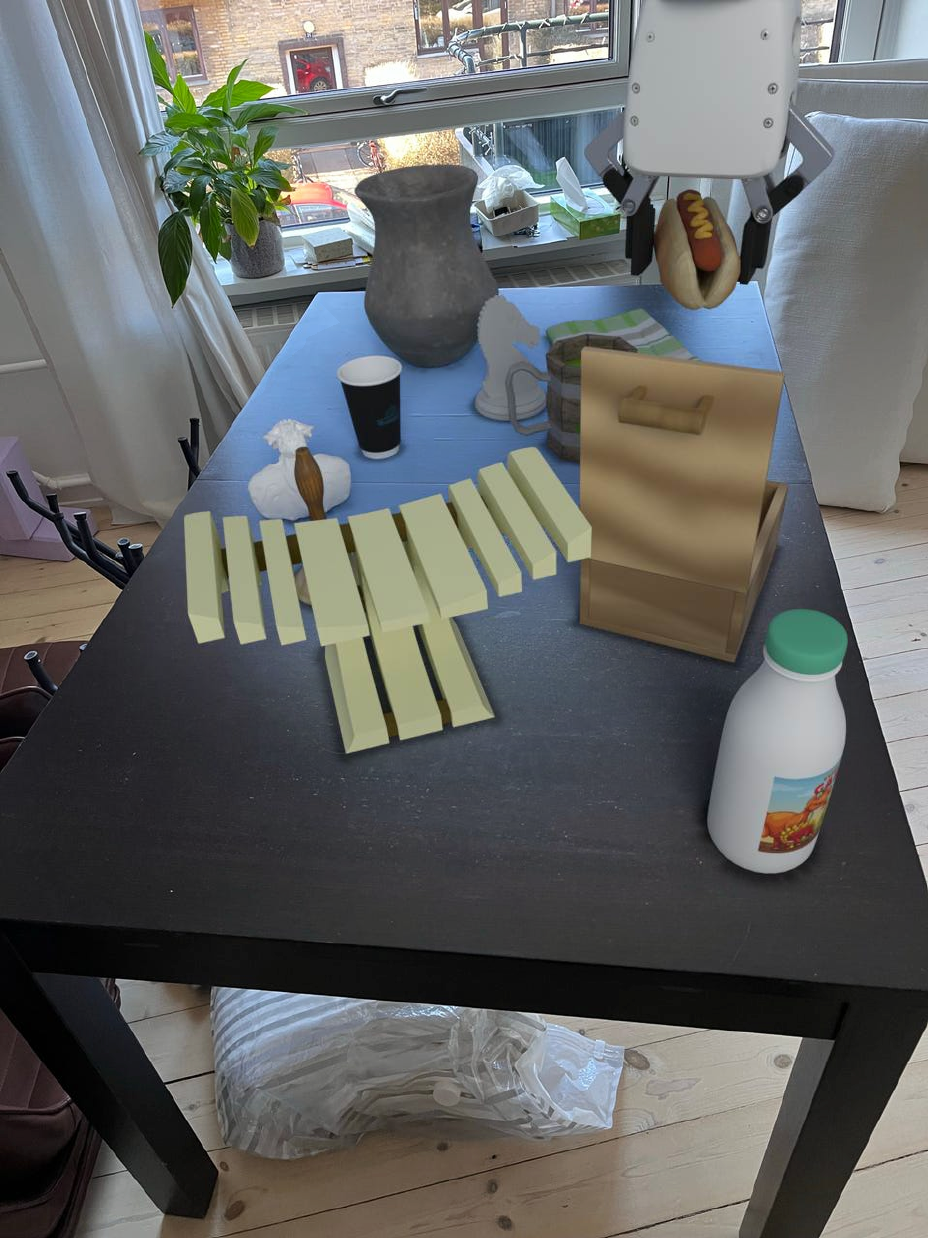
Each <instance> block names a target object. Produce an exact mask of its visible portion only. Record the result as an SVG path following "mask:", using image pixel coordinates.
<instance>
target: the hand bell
mask: <svg viewBox="0 0 928 1238" xmlns="http://www.w3.org/2000/svg"><path fill="white" fill-rule="evenodd" d="M295 453H296V458H295V466H294V475H295V481H296V485H297V488H298V491H299V493H300V495H301V497H302V499H303V500H304V502H305V503H306V505H307V508H308V511H309V516H308V517H309V521H317V520H325V519H328V518H327V515H326V513H325V511H324V507H323V495H324V485H323V478H322V474H321V470H320V468H319V465H318V464H317V462H316V460H315V459H314V457H313V454H312V452H311V450H310V449H309V447H308V446H307V447H299V448H297V449H296V451H295ZM348 558H349V561H350V565H351V568H352V571H353V575H354V578H355V582H356V585H357V586H358V585H360V584H359V579H358V573H357V568H356V562H355V557H354V554H353V553H348ZM295 578H296V583H297V594H298V599H299V602H302V603H303V604H305V605H306V606H307V605H308V606H310V607H312V603H311V599H310V594H309V590H308V585H307V580H306V576H305V571H304V567H303V566H302V567H301V569H300V570H299V571H298V572H297V573H296V574H295Z"/></svg>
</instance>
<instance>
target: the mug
mask: <svg viewBox="0 0 928 1238" xmlns="http://www.w3.org/2000/svg"><path fill="white" fill-rule="evenodd" d="M585 346H586V347H594V348H601V349H609V350H617V351H625V352H633V353H637V350H638V349H637V348H635V347H634V346H632V345H631V344H630V343H628V342H627V341H625V340H624V339H622V338H621V337H616V336H605V335H595V334H584V335H579V336H575V337H571V338H567V339H562V340H558V341H556V342H555V343H554V345H553V346H552V345H551V347H550V348H549V350H548V351H547V352H546V354H545V363H546V370H547V371H541V370H539V369H538V368H537V367H536V366H535V365H534V364H533V363H532V362H530V363H527V362H523V361H520V362H518V363H516V364H514V365H512V366H510V367H509V371H508V374H507V377H506V380H505V385H506V391H507V397H508V412H509V419H510V421H509V422H510V424H511V426H512V428H513V429H514V431H515V433H517V434H520V435H523V436H526V437H527V436H530V435H534V434H537V433H542V432H546V431H547V437H546V446H547V447H548V448H549V450H551V452H553V454H555V456H556V457H558V459H560V461H566V462H572V463H579V464H580V430H581V350H582V349H583V348H584V347H585ZM520 370H524V371H527V372H529V373H531V374H532V375H533V376H534V377H535V378H536V379H538V382H543V383H544V382H545V383H547V387H546V412H547V420H545V421H541V422H536V423H533V424H530V425H528V426H526V425H522V424H520V423H519V420H517V419H516V405H515V394H514V390H513V385H512V380H513V374H514V373H516V372H518V371H520Z"/></svg>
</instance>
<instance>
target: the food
mask: <svg viewBox="0 0 928 1238" xmlns="http://www.w3.org/2000/svg"><path fill="white" fill-rule="evenodd" d="M653 252H654V256H655V257H654V258H655V260H656V263H657V266H658V273H659V281H660V284H661V285H662V286H663V287H664V289H665V290H666V291H667V292H668V293H669V294H670V296H671V297H672V298H673V299H674V301H676V302H677V303H678V304H679V305H681V306H682V307H683V308H685V309H688V310H691V311H697V310H700V309H702V308H703V309H706V310H713V309H716V308H718V307H719V306H721V305H722V304H723V303H724V302H725V301H726V300H727V299H728V298H729V296H731V295H732V293H733V292H734V291H735V289H736V286H737V283H738V282H737V280H738V278H739V275H740V263H741V261H740V252H739V250H738V247H737V243H736V239H735V235H734V233H733V230H732V229H731V227H730V224H728V223H727V221H726V218H725V217H724V215H723V212H722V211H721V209H720V207H719V205H718V203H717V200H716V199H715V198H713V197H712V196H705V197H704V198H703V197H702V193H701V192H699V191H698V190H695V189H691V188H690V189H686V190H684V191H681V192H679V194H678V195H677V196H676V199H675V198H668V199H667V200H666V201H664V203H663V204H662V206H661V208H660V212H659V215H658V219H657V222H656V226H655V229H654V238H653Z"/></svg>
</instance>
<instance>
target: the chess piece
mask: <svg viewBox="0 0 928 1238" xmlns="http://www.w3.org/2000/svg"><path fill="white" fill-rule="evenodd" d="M478 320H479V322H478V324H477V326H478V330H477V331H478V334H477V335H478V341H479V342H478V343H479V347H480V349H481V352H482V354H483V356H484V359H485V363H486V374H485V377H484V380H482V381H481V386H482V388H481V389H480V390H479V392H478V393H477V394H476V397H475V401H474V405H475V410H476V411H477V412H478V413H479V414H480V415H482V416H483V417H485V418H488V419H490V420H495V421H503V422H504V421H505V422H510V419H509V412H508V397H507V391H506V385H505V380H506V377H507V374H508V371H509V367H510V366H512V365H514V364H516V363H518V362H520V361H523V362H527V363H531V361H530V360H529V359H528V358H527V357H526V356H525V355H524V354H523V353H522V352H521V351H520V350H519V349H518V348H517V347H516V346H515V344H514V343H521V344H525V346H526V347H527V348H528V349H529V350H533V349H535V346H537V345H539V343H540V340H541V337H540V335H541V334H540V327H539V326H537V325H533V324H530V323H529V322H528V321H527V320H526V318H525V317H524V316H523V314H522V312H521V311H520V309H519V308H518V307H517V305H516V304H514V303H513V302H511V301H507V299H506V297H505V295H504V294H499V296H498V295H495V296H494V298H490V299H489V300H488V301H485V305H484V306H483V307H482V310H481V311H480V316H479V318H478ZM538 382H539V380H538V379H536V378H535V377H534V376H533V375H532V374H531V373H529V372H527V371H524V370H520V371H518V372H516V373H514V374H513V380H512V385H513V390H514V394H515V405H516V419H517V421H520V420H525V419H530V418H532V417H534V416H536V415H538V414H540V413H541V412H543V411H544V410H545V408H547V405H546V397H547V393H546V392H545V390H544V389H543V388H542V387H541V386H540V385H539V384H538Z"/></svg>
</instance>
